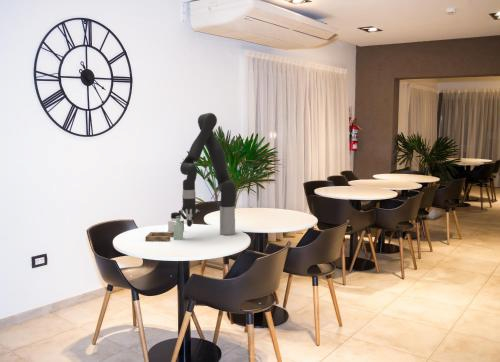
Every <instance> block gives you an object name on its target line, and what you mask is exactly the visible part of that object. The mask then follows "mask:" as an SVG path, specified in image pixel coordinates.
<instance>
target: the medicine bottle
mask: <svg viewBox="0 0 500 362" xmlns="http://www.w3.org/2000/svg"><path fill="white" fill-rule="evenodd" d="M176 216H180V222H181V223H183V232H184V231H185V222H184V220H185V219H181V217H182V216H181V215H180V214H179V211H178V212H177V211H174V212H172V213H170V219H169V220H168V221H167V225H168V230H167V232H174V224H175V222H176Z"/></svg>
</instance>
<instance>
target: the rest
mask: <svg viewBox="0 0 500 362" xmlns="http://www.w3.org/2000/svg"><path fill="white" fill-rule="evenodd" d="M171 238H174V232H169V231H150V232H149V233H148V234H147V235H146V236H145V242H170V241H171Z"/></svg>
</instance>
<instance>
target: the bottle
mask: <svg viewBox="0 0 500 362" xmlns="http://www.w3.org/2000/svg"><path fill="white" fill-rule="evenodd" d="M180 220H181V219H180V216H176V222H175V224H174V237H173V240H174V241H175V240H178V241H179V240H183V239H184V231H183V223H181V222H180Z"/></svg>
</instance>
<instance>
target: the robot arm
mask: <svg viewBox="0 0 500 362" xmlns="http://www.w3.org/2000/svg"><path fill="white" fill-rule="evenodd" d="M217 123H218V118H217V116H216V115H215V114H214V113H212V112H207V113H203V114H200V115H199V116H198V119H197V124H198V127H199V130H200V131H199V133H198V135H197V137H196V138H195V139H194V140H193V143H192V144H191V146H190V148H189V151H188V154H187V156H186V157H185V158H184V159H183V161H182V163H181V165H180V167H179V170H180V173H181V174H182V175H184V176H186V178H185V179H184V180H183V181H182V206H181V209H180V210H179V211H178V212H179V214H180V215H181V217H182V220H186V226H187V227H189V228H190V227H192V225H193V220H195V219H196V217H197V216H198V215H199V214H200V212H201V210H199V209H197V206H196V205H197V204H196V201H197V200H196V199H197V198H196V197H197V196H196V183H195V182H196V179H197V175H198V167H197V165H196V164H195V163H196V162H198V161H199V159H201V158H200V157H201V155H202V153H203V150H204V147H205V146H206V149H207V152H208V156H209V159H210V162H211V165H212V168H213V170H214V173H215V177H216V179H217V186H218V190H219V192H220V200H219V235H223V236H232V235H235V234H236V213H235V212H236V208H235V207H236V206H235V205H236V199H237V198H236V197H237V191H236V190H237V187H236V184H235V183H234V182H233V181H231V178H230V176H229V172H228V170H227V159H226V154H225V151H224V148H223V146H222V144H221V143H220V141H219V140H218V139H217V137H216V135H215V133H214V129H215V127H216V125H217ZM194 213H195V214H194ZM193 215H194V216H193Z"/></svg>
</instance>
